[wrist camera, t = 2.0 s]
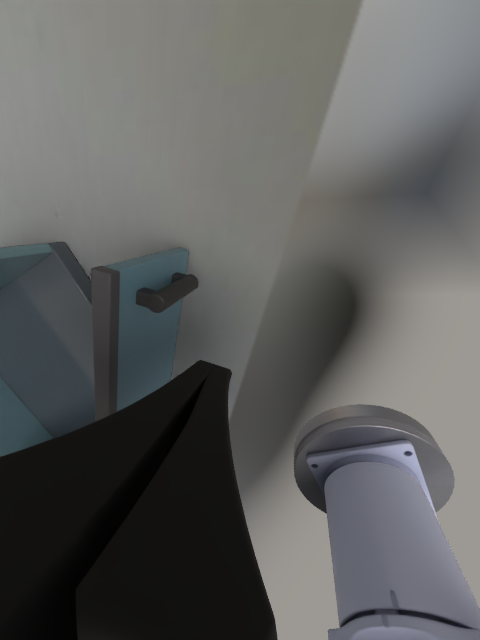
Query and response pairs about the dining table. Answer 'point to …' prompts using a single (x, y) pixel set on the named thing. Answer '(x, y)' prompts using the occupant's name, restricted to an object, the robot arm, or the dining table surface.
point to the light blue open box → (44, 345)
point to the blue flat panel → (136, 326)
